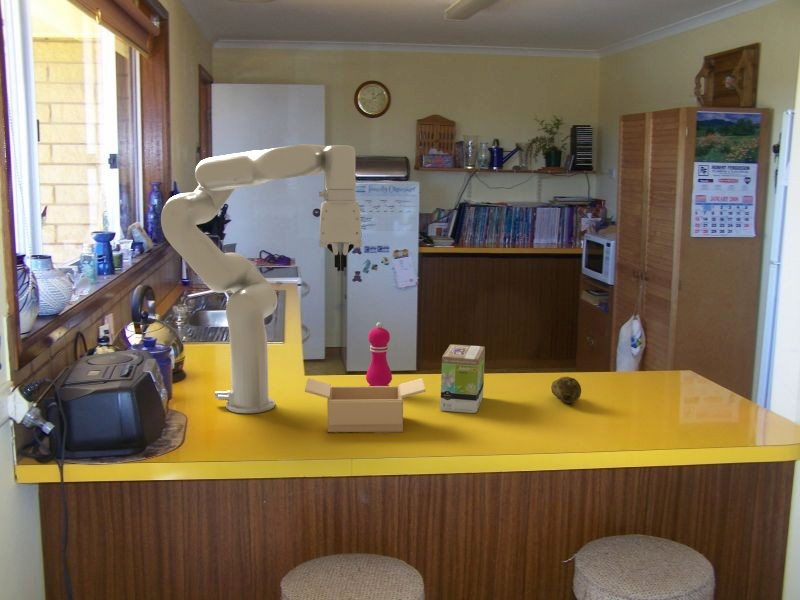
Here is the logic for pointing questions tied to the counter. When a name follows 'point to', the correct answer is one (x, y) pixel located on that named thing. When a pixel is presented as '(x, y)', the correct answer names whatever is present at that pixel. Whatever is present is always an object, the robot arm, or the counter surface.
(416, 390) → the right flap
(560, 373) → the counter surface
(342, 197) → the robot arm
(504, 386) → the counter surface
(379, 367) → the pepper mill
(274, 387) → the counter surface
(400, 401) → the carton
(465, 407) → the tea box
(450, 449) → the counter surface
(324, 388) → the left flap
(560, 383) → the potato
